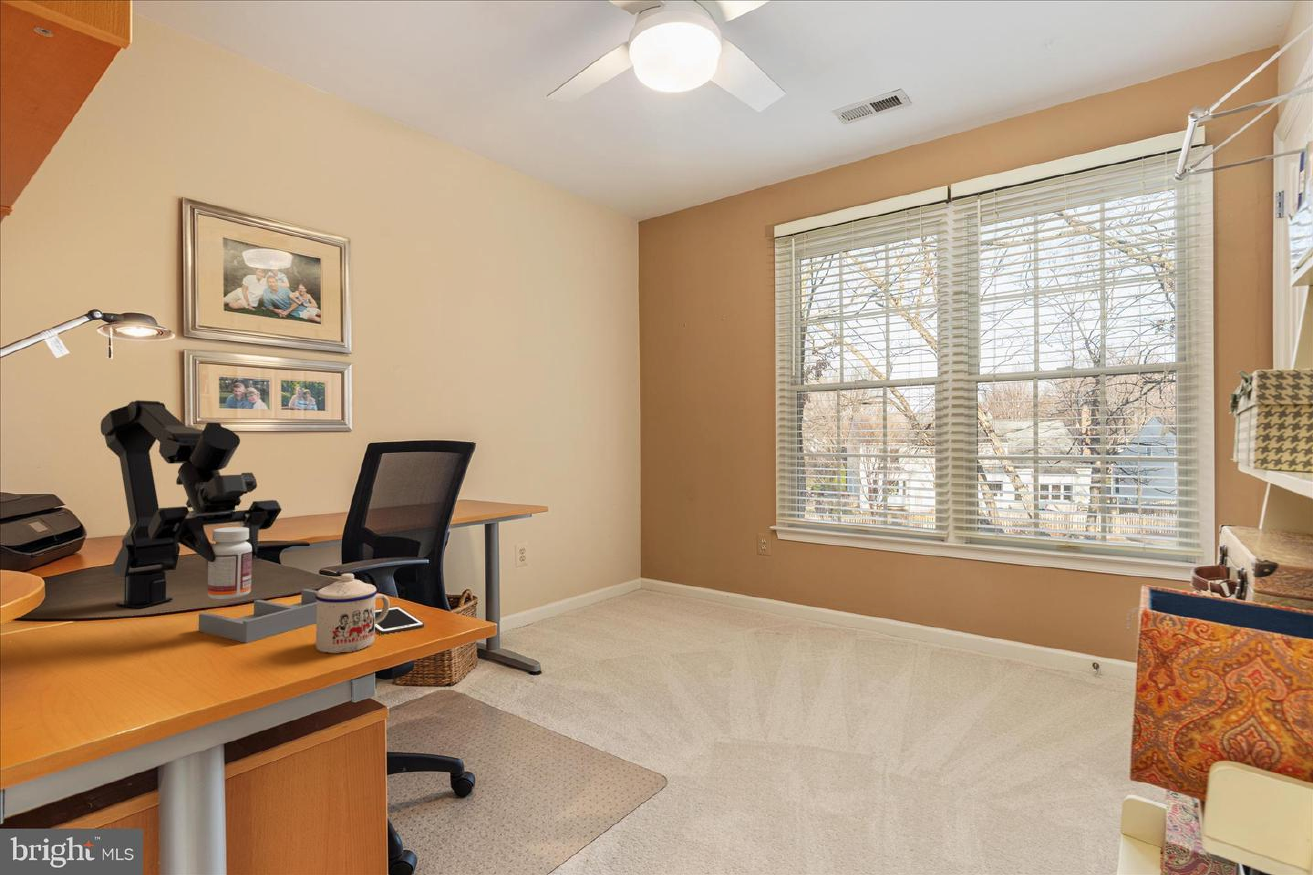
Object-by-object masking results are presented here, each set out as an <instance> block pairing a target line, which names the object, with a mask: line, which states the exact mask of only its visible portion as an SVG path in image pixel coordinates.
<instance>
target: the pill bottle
mask: <svg viewBox="0 0 1313 875" xmlns="http://www.w3.org/2000/svg"><path fill="white" fill-rule="evenodd" d="M247 539H249V528H245V527H241V526H227V527H221V528H215V529H213V530H212V542H215V543H214V544H212V545H211V546H212V549H213V551H214V554H215V560H214V562H209V561H208V560H207V561H208V562H207V596H208V597H209V598H210V599H213V600H229V599H236V598H241V597H245V596H247V595H248V594H250V593H251V590H252V567H253V566H252V565H253V556H252V546H251V544H250V543H248V542H246V540H247Z"/></svg>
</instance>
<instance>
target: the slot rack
mask: <svg viewBox="0 0 1313 875" xmlns="http://www.w3.org/2000/svg"><path fill="white" fill-rule="evenodd" d="M318 591H319V590H316V589H315V590H314V589H309V588H303V589H301V593H300V594H301V595H300V596H301V599H300V600H301V601H300V602H298V603H297V602H296V603H294V604H289V605H287V604H282V603H278V602H272V601H269V600H268V601H267V600H263V599H257V600H256V599H255V600H254V601H253V614H249V615H245V616H242V617H238V618H232V617H227V616H225V615H224V616H223V615H220V614H214V613H210V612H206V611H204V612H200V613H198V632H202V633H205V634H210V635H212V636H215V637H217V636H218V637H221V638H223V639H224V638H226V639H228V640H233V641H237V642H241V643H245V644H248V643H252V642H255V641H258V640H262V639H266V638H269V637H272V636H273V637H274V636H276V635H279V634H283V633H285V632H289V631H293V630H296V629H300V628H304V627H307V626H310V625H314V624H317V599H316V597H315V596H316V594H317V592H318Z"/></svg>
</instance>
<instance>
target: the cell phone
mask: <svg viewBox="0 0 1313 875" xmlns="http://www.w3.org/2000/svg"><path fill="white" fill-rule="evenodd" d="M382 609H383V607H382V608H375V618H377V617H378V616H379V615H380V613H381V612H382ZM423 628H425V623H424V621H422V620H421V619H419V618H417V617H416V616H415V615H414V614H411V613H409V612H408V611H407V610H405V608H404V609H403V608H402V607H401V606H398V605H397V606H389V611H388V613H387V615H386V617H385V618H384V619H383V620H382V621H381V622H379V623H377V624H375V632H377V633H378V632H379V633H381V634H387V635H390V634H389V633H393V634H396V633H395V632H398V633H402V632H401V631H403V632H407V631H408V632H409V631H415V630H419V629H423ZM379 633H378V634H379ZM381 634H380V635H381Z"/></svg>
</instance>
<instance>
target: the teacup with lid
mask: <svg viewBox="0 0 1313 875" xmlns="http://www.w3.org/2000/svg"><path fill="white" fill-rule="evenodd" d="M317 591H318V592H317V594H316V596H315V597H316V599H317V623H316V625H315V626H316V630H315V631H316V633H315V634H316V635H315V636H316V637H315V648H316V650H318V651H320V652H322V653H325V652H329V653H328V654H341V653H340V652H347V653H351V652H352V651H353V652H357V651H360V649H361V650H364V649H366V648H368V647H370V646H371V645H372V644H374V642H375V633H376V631H375V624H377V623H379V622H381V621H382V620H383V619H384V618H385V617H386V615H387V613H388V611H389V607H391V605H390V599H389V597H388V596H387V595H385V594H382V593H378V590H377V587H376V586H375V585H373V584H371V583H365V582H363V580H360V579H356V578H355V575H354V574H353V573H342V574H341V575H340V580H339V579H338V580H336V581H334V582H333V583H332V584H330V585H328V586H324V587H322V588H320V589H318V590H317ZM380 599H381V600H382V602H383V606H382V608H383V609H382V608H381V609H382V612H381V613H380V615H379V616H378V617H377V618H375V610H376V600H380ZM367 646H368V647H367ZM365 647H366V648H365ZM363 648H364V649H363ZM356 650H357V651H356Z"/></svg>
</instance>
